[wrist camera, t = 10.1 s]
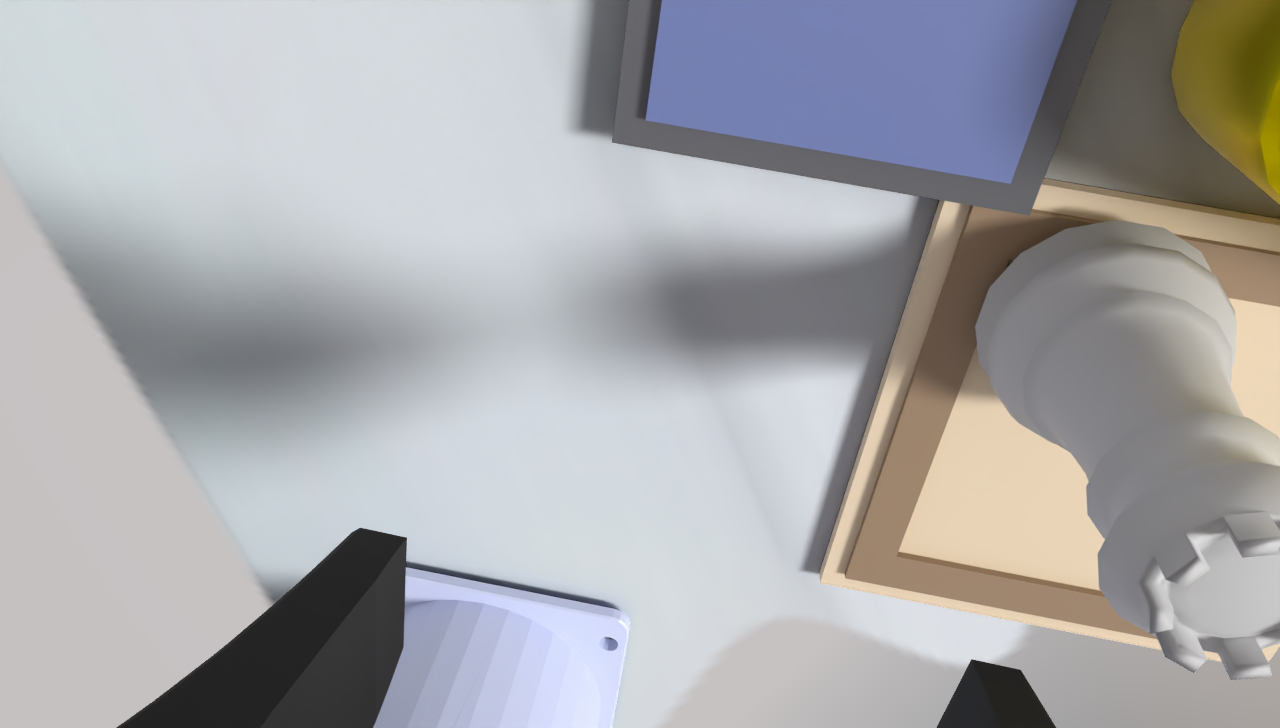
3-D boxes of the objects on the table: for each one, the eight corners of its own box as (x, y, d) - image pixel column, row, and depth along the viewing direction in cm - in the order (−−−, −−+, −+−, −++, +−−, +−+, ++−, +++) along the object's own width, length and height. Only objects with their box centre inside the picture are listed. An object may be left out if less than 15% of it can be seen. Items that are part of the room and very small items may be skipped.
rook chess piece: (924, 314, 19) (995, 599, 12) (1118, 161, 17) (1332, 404, 10) (1062, 443, 20) (1198, 770, 14) (1260, 315, 18) (1538, 624, 11)
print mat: (1256, 657, 23) (1266, 676, 23) (819, 572, 24) (820, 588, 23) (1537, 263, 18) (1559, 277, 17) (951, 161, 18) (956, 173, 18)
